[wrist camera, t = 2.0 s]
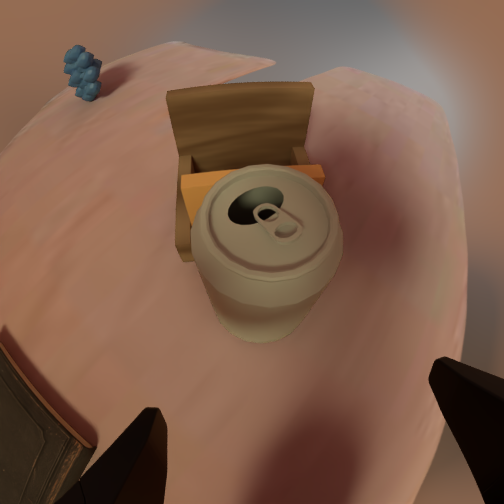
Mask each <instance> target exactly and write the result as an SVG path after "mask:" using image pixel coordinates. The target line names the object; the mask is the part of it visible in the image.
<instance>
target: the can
mask: <svg viewBox="0 0 504 504" xmlns="http://www.w3.org/2000/svg"><path fill="white" fill-rule="evenodd" d="M191 250H192V255H193V257H194V260H195V263H196V265H197V268H198V270H199V273H200V276H201V278H202V281H203V283H204V286H205V288H206V291H207V293H208V296H209V298H210V301H211V303H212V306H213V308H214V310H215V313H216V315H217V317H218V319H219V321H220V323H221V324H222V325H223V326H224V327H225V328H226V329H227V330H228V331H229V332H230V333H231V334H233V335H235V336H236V337H238V338H240V339H242V340H244V341H249V342H255V343H267V342H273V341H277V340H279V339H281V338H283V337H285V336H287V335H289V334H291V333H292V332H293V331H294V330H295V328H296V327H297V326H298V325H299V324H300V323H301V322H302V321H303V319H304V318H305V317H306V315H307V314H308V312H309V311H310V310H311V308H312V307H313V305H314V304H315V303H316V301H317V300H318V298H319V297H320V295H321V294H322V293H323V291H324V290H325V288H326V287H327V285H328V284H329V282H330V281H331V279H332V278H333V277H334V275H335V273H336V271H337V268H338V266H339V263H340V260H341V258H342V255H343V231H342V229H341V226H340V223H339V215H338V213H337V210H336V207H335V205H334V202H333V199H332V198H331V197H330V195H329V194H328V193H327V192H326V190H325V189H324V188H323V187H322V185H321V184H319V183H318V182H316V181H315V180H314V179H312V178H311V177H309V176H308V175H307V174H305V173H302V172H300V171H297V170H295V169H292V168H290V167H286V166H279V165H272V164H262V165H251V166H247V167H244V168H241V169H238V170H235V171H232V172H230V173H229V174H227V175H226V176H224V177H223V178H221V179H220V180H218V181H217V182H216V183H215V184H214V185H213V186H212V188H211V189H210V190H209V191H208V193H207V194H206V195H205V197H204V199H203V202H202V205H201V207H200V208H199V209H198V211H197V212H196V215H195V219H194V222H193V225H192V228H191Z"/></svg>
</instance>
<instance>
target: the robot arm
mask: <svg viewBox="0 0 504 504" xmlns="http://www.w3.org/2000/svg"><path fill="white" fill-rule="evenodd" d="M428 380H429V384H430V386H431V389H432V391H433V393H434V395H435V398H436V400H437V402H438V405H439V407H440V410H441V412H442V414H443V416H444V418H445V420H446V422H447V424H448V426H449V427H450V429H451V431H452V433H453V435H454V437H455V439H456V441H457V443H458V445H459V447H460V449H461V451H462V453H463V455H464V457H465V459H466V461H467V463H468V466H469V468H470V470H471V472H472V474H473V476H474V478H475V481H476V483H477V485H478V488H479V490H480V492H481V495H482V497H483V500H484V502H485V504H504V379H502V378H500V377H497V376H495V375H492V374H489V373H487V372H484V371H481V370H479V369H476V368H474V367H471V366H468V365H466V364H463V363H461V362H458V361H456V360H453V359H451V358H448V357H441V358H438V359H436V360H435V361H434V363H433V366H432V369H431V372H430V374H429V378H428ZM166 479H167V424H166V422H165V420H164V417H163V415H162V413H161V411H160V409H159V408H156V407H147V408H145V409H144V410H143V411H142V412H141V413H140V414H139V415H138V416H137V417H136V418H135V420H134V421H133V422H132V423H131V424H130V425H129V426H128V427H127V428H126V429H125V431H124V432H123V433H122V434H121V435H120V436H119V437H118V438H117V439H116V440H115V441H114V443H113V444H112V445H111V446H110V447H109V448H108V449H107V450H106V451H105V452H104V453H103V454H102V455H101V457H100V458H99V459H98V460H97V461H96V462H95V463H94V464H93V465H92V466H91V467H90V468H89V469H88V470H87V471H86V472H85V474H84V475H83V476H82V477H81V478H80V481H79V480H78V481H77V482H76V483H75V484H74V485H73V486H72V487H71V488H70V489H69V490H68V491H67V492H66V493H65V494H64V495H63V496H62V497H61V498H59V499H58V500H57V501H56V502H55V503H53V504H164V496H165V487H166Z"/></svg>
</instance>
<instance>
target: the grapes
mask: <svg viewBox="0 0 504 504" xmlns="http://www.w3.org/2000/svg"><path fill="white" fill-rule="evenodd" d="M93 57H94V55H93V54H91V53H89V52H85V47H83V46H80V45H75V46H74V47H73V48H72V49H70V50H68V51H67V53H66V55H65V57H64V62H65V63H66V65H65V68H64V73H66V74H70V75H71V77H70V79H69V84H68V85H69V86H71V87H77V89H76V94H75V96H77V97H81V98H82V99H83V100H85V101H92V100H94V99H95V97H96V95H97V94H98V93H99V91H100V89H101V82H99V81H97V79H98V77H99V74H100V68H101V65H102V61H100V60H98V59H93Z"/></svg>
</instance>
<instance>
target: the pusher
mask: <svg viewBox="0 0 504 504" xmlns="http://www.w3.org/2000/svg"><path fill="white" fill-rule="evenodd" d="M286 167H290V168H292V169H295V170H297V171H300V172H302V173H305V174H307V175H308V176H309V177H311V178H312V179H314V180H315V181H316V182H318V183H319V184H321V185H322V186H323V183H324V180H325V175H324V173H323V170H322V167H321V165H293V166H286ZM235 170H238V169H233V170H223V171H213V172H203V173H195V174H187V175H181V191H182V195H183V198H184V202H185V205H186V208H187V212H188V215H189V218H190V222H191V225H193V222H194V219H195V215H196V212H197V211H198V209H199V208H200V207H201V205H202V202H203V199H204V197H205V195H206V194H207V193H208V191H209V190H210V189H211V188H212V186H213V185H214V184H215V183H216V182H217V181H218V180H220V179H221V178H223V177H224V176H226V175H227V174H229V173H230V172H232V171H235Z"/></svg>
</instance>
